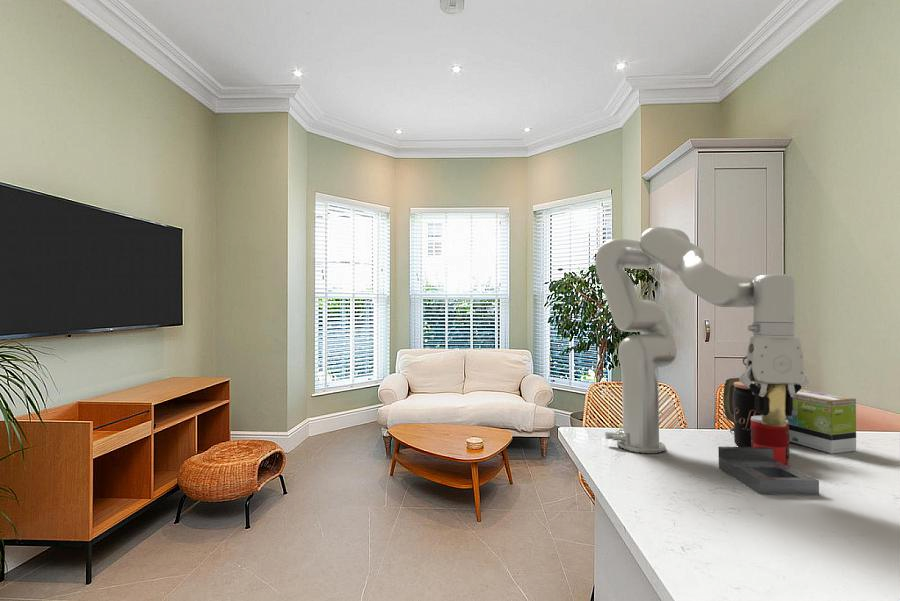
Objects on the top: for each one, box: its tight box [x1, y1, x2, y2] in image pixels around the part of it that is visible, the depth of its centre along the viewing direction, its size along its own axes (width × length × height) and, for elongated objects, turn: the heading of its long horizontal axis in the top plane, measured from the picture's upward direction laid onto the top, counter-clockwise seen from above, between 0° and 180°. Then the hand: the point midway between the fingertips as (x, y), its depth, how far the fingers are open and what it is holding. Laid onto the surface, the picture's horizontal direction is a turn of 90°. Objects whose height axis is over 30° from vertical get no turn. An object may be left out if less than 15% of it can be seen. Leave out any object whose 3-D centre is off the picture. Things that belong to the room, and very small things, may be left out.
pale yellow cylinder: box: [762, 384, 786, 427], centre depth 103 cm, size 4×4×9 cm
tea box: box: [786, 389, 857, 455], centre depth 135 cm, size 15×10×15 cm
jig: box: [717, 446, 820, 496], centre depth 106 cm, size 12×16×5 cm
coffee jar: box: [733, 382, 762, 447], centre depth 132 cm, size 11×11×18 cm
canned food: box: [751, 416, 790, 466], centre depth 120 cm, size 8×8×11 cm
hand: (773, 413), depth 103 cm, fingers closed on pale yellow cylinder, 4 cm apart
